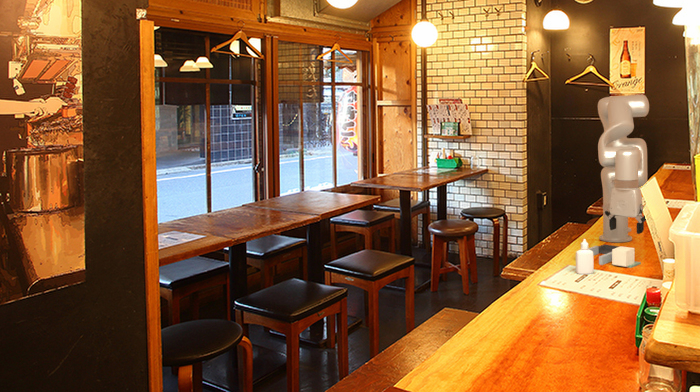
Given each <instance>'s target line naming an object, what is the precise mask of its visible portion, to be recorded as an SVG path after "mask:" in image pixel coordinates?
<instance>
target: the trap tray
mask: <svg viewBox="0 0 700 392" xmlns="http://www.w3.org/2000/svg"><path fill="white" fill-rule="evenodd" d="M598 246H599V254H601V253H602V255H604V254H607V253H610V252H612V249H615V248H617V247H620V246H618V245H611V244H605V243H604V244H602V245H598Z"/></svg>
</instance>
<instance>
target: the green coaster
mask: <svg viewBox="0 0 700 392" xmlns="http://www.w3.org/2000/svg"><path fill="white" fill-rule="evenodd" d="M641 263H642V262H641V261H635V260H634V264H631V265H629V266H626V267H625V266H622V267H624V268H630V269H632V268H634V267H637V266H640V265H641ZM611 265H612V266H614V265H613V264H612V263H611ZM617 266H618V267H620V266H619V265H616V267H617Z"/></svg>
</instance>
